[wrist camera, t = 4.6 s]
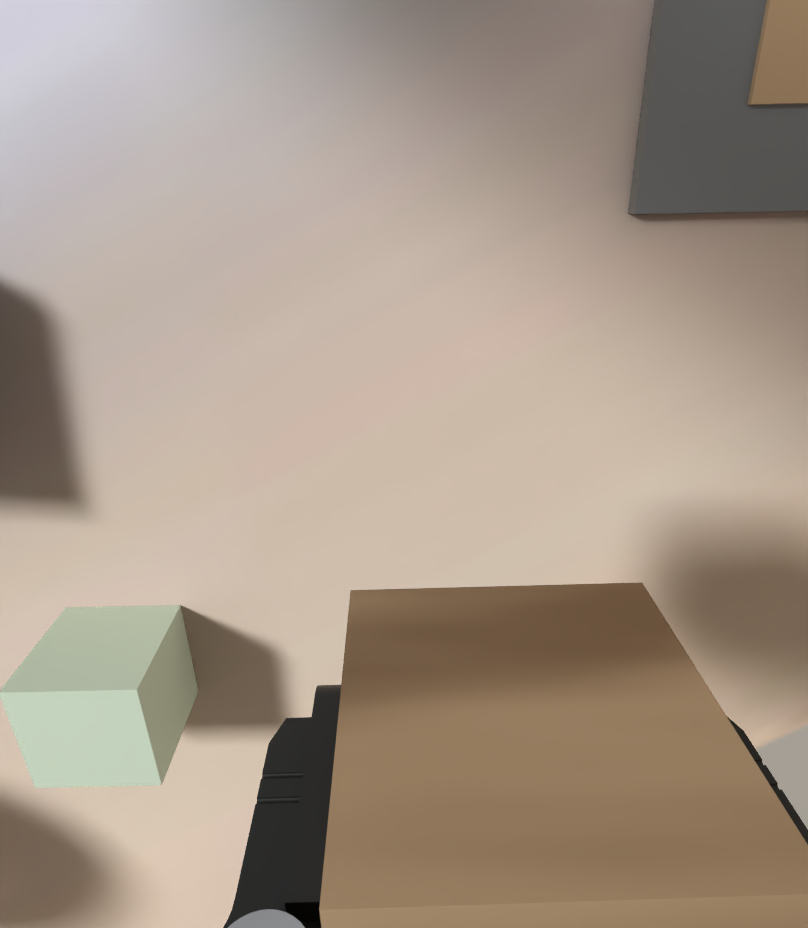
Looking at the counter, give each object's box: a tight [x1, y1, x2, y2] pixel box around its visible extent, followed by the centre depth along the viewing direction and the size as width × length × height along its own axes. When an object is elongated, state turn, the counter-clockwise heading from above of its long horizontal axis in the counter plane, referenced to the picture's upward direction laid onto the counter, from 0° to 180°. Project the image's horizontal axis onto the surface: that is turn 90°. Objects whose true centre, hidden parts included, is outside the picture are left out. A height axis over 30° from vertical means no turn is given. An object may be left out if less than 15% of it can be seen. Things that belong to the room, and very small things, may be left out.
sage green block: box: [0, 605, 198, 788], centre depth 25 cm, size 5×5×5 cm
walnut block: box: [319, 583, 808, 928], centre depth 9 cm, size 5×5×5 cm
